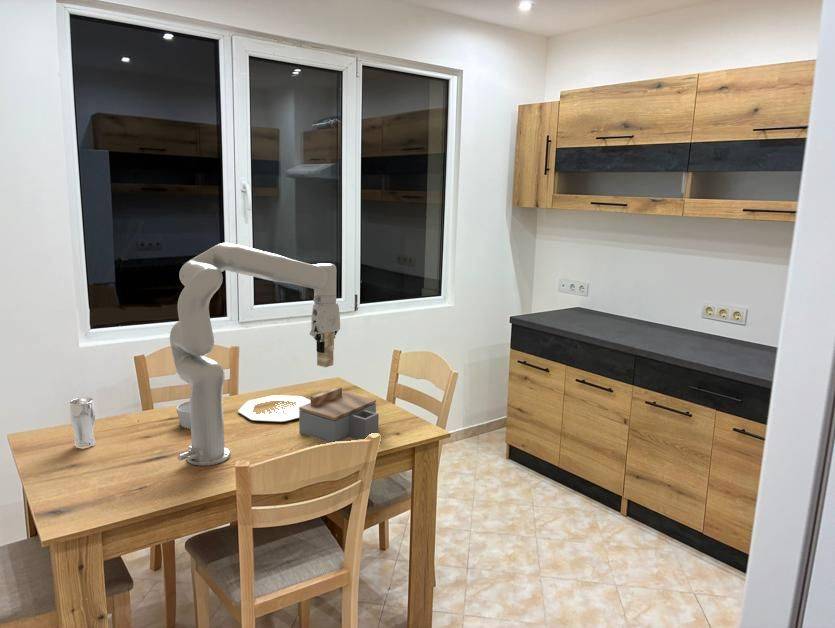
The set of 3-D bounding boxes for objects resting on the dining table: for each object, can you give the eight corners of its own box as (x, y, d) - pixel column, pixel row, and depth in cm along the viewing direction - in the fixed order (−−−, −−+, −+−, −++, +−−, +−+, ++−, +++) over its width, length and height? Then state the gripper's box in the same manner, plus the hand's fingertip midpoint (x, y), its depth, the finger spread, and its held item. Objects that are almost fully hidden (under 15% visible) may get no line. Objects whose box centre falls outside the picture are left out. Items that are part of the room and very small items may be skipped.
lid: (334, 420, 198) (334, 409, 197) (299, 409, 207) (299, 398, 206) (375, 402, 216) (376, 391, 215) (341, 393, 225) (341, 383, 224)
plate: (228, 408, 230) (227, 404, 230) (291, 394, 248) (291, 390, 248) (262, 430, 210) (262, 426, 210) (329, 413, 228) (329, 409, 228)
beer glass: (102, 442, 196) (99, 398, 193) (85, 451, 189) (81, 405, 186) (84, 439, 198) (81, 396, 195) (67, 448, 191) (63, 403, 188)
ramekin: (180, 433, 205) (179, 414, 204) (174, 420, 216) (173, 402, 215) (220, 427, 211) (219, 408, 210) (213, 415, 223) (212, 397, 221)
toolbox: (350, 449, 196) (350, 426, 194) (299, 432, 208) (299, 410, 207) (391, 429, 214) (391, 407, 212) (341, 414, 226) (341, 394, 225)
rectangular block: (325, 367, 210) (325, 328, 208) (317, 365, 213) (317, 326, 210) (333, 364, 214) (333, 326, 211) (325, 362, 216) (325, 324, 213)
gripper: (315, 303, 200) (315, 357, 203) (349, 297, 213) (349, 348, 217) (299, 301, 204) (300, 353, 208) (334, 295, 217) (333, 344, 221)
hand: (325, 350), depth 212 cm, fingers closed on rectangular block, 4 cm apart
